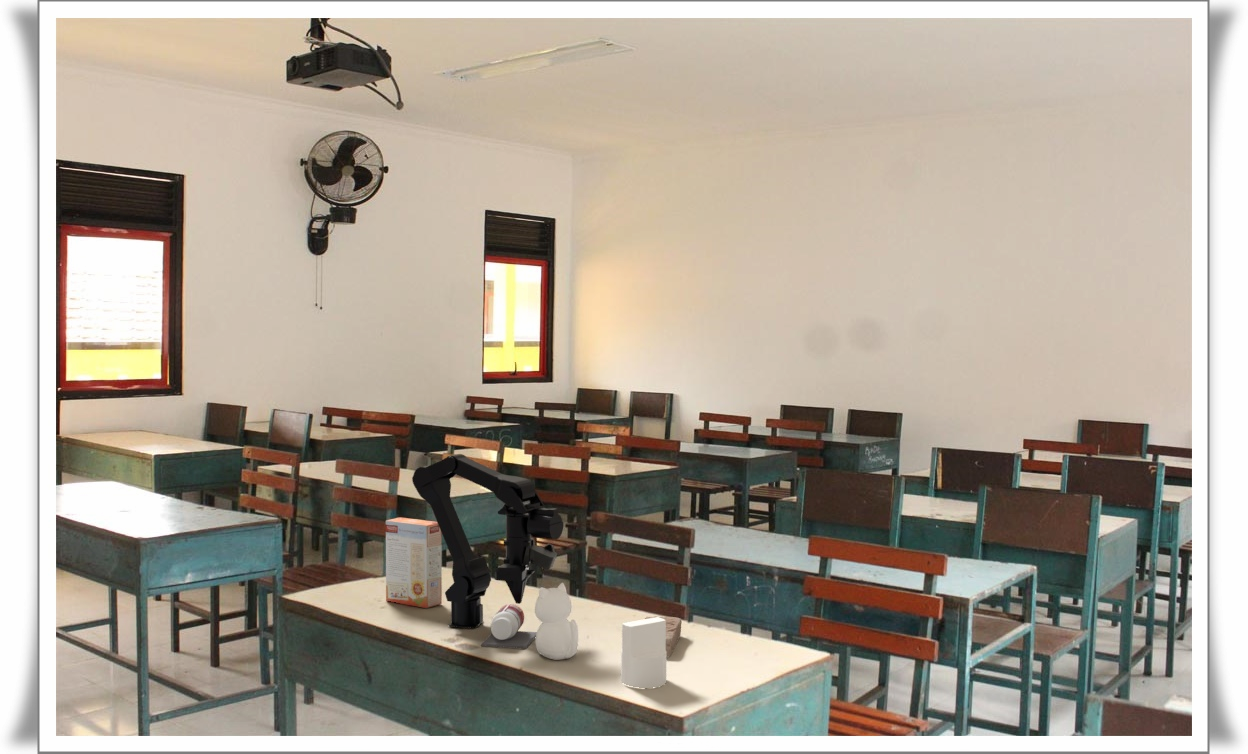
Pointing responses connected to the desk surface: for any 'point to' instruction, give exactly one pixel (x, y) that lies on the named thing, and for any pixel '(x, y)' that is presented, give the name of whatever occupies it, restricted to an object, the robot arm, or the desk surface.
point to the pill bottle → (507, 621)
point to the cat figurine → (555, 624)
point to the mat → (511, 640)
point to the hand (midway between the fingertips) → (518, 603)
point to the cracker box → (413, 562)
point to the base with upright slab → (644, 653)
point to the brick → (671, 632)
